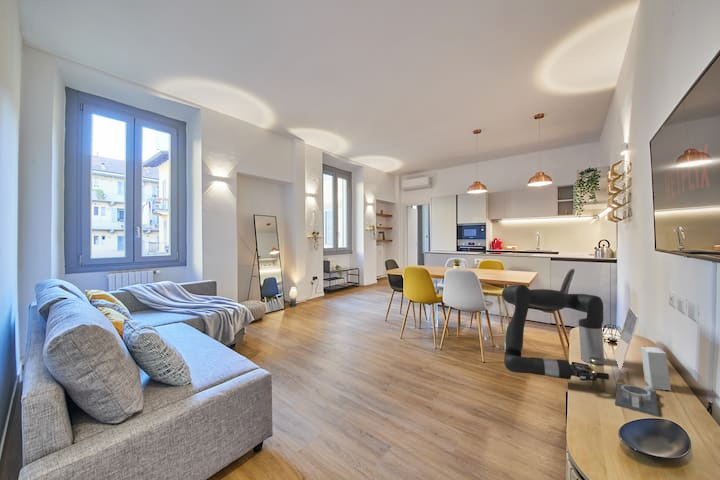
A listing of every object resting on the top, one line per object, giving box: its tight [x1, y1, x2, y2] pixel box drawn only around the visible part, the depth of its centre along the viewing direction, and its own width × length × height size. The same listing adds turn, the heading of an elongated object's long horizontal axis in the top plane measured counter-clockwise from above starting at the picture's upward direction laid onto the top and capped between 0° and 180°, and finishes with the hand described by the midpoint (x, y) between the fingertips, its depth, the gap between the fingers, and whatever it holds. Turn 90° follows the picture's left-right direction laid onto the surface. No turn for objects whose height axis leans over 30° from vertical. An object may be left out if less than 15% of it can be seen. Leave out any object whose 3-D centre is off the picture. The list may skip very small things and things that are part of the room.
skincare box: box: [640, 346, 672, 392], centre depth 118 cm, size 8×6×15 cm
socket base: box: [614, 382, 659, 417], centre depth 108 cm, size 20×11×4 cm, turn 136°
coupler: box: [589, 357, 607, 393], centre depth 117 cm, size 5×5×12 cm
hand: (606, 373), depth 115 cm, fingers closed on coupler, 4 cm apart
